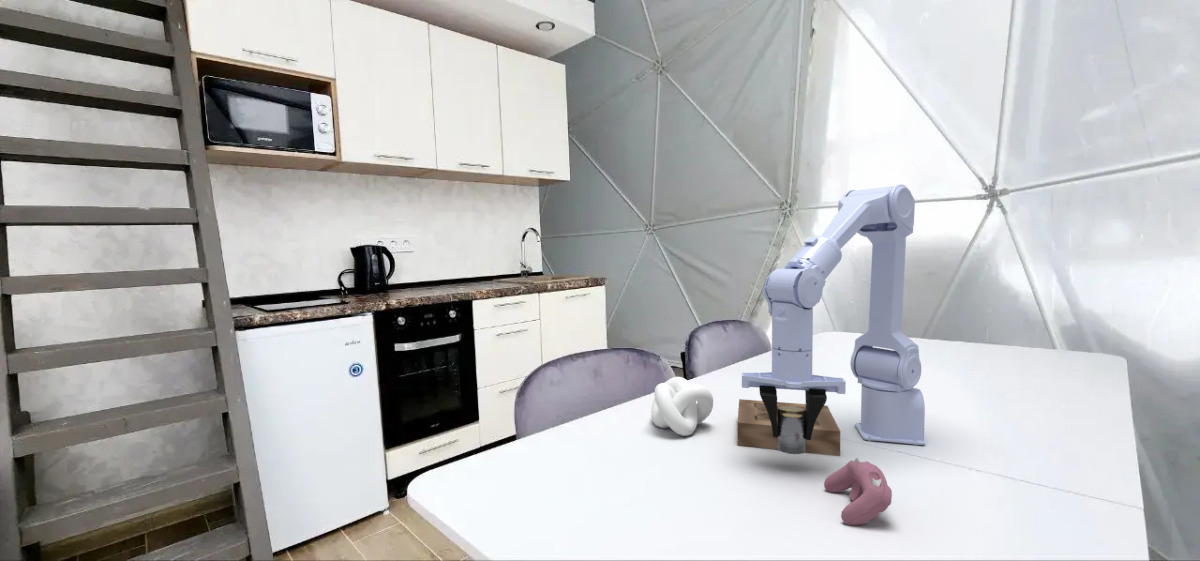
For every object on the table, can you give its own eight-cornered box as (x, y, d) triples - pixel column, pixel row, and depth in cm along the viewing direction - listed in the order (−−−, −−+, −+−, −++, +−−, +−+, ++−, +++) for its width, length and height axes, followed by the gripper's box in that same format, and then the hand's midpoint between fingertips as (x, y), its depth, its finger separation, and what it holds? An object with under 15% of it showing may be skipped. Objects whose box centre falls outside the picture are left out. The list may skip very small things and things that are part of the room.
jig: (827, 426, 93) (827, 405, 93) (840, 455, 79) (840, 431, 79) (739, 419, 97) (739, 399, 97) (737, 445, 84) (737, 422, 84)
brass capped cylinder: (803, 445, 76) (804, 407, 76) (806, 455, 72) (807, 415, 72) (776, 442, 77) (776, 405, 77) (777, 452, 74) (778, 413, 73)
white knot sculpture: (705, 417, 99) (705, 373, 98) (721, 439, 87) (721, 389, 86) (649, 418, 99) (649, 374, 98) (657, 441, 87) (657, 391, 86)
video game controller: (876, 542, 58) (906, 493, 57) (839, 522, 59) (869, 473, 58) (850, 501, 68) (876, 459, 67) (819, 484, 69) (844, 442, 68)
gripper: (741, 350, 72) (741, 441, 73) (850, 355, 68) (848, 451, 69) (742, 342, 79) (742, 425, 80) (841, 346, 75) (840, 433, 76)
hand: (791, 436), depth 75 cm, fingers closed on brass capped cylinder, 4 cm apart
